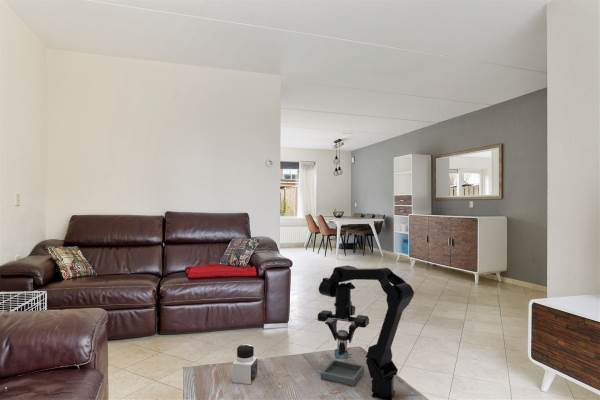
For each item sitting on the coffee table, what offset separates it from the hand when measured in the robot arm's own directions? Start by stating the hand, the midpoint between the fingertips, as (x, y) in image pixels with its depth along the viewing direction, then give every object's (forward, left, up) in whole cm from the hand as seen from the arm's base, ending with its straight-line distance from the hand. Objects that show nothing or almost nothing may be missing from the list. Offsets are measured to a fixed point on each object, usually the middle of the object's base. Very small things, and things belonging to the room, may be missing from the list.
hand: (342, 341), depth 138 cm
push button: (0, 0, -6) cm, 6 cm away
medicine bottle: (+31, +19, -13) cm, 39 cm away
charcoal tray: (0, 0, -13) cm, 13 cm away
